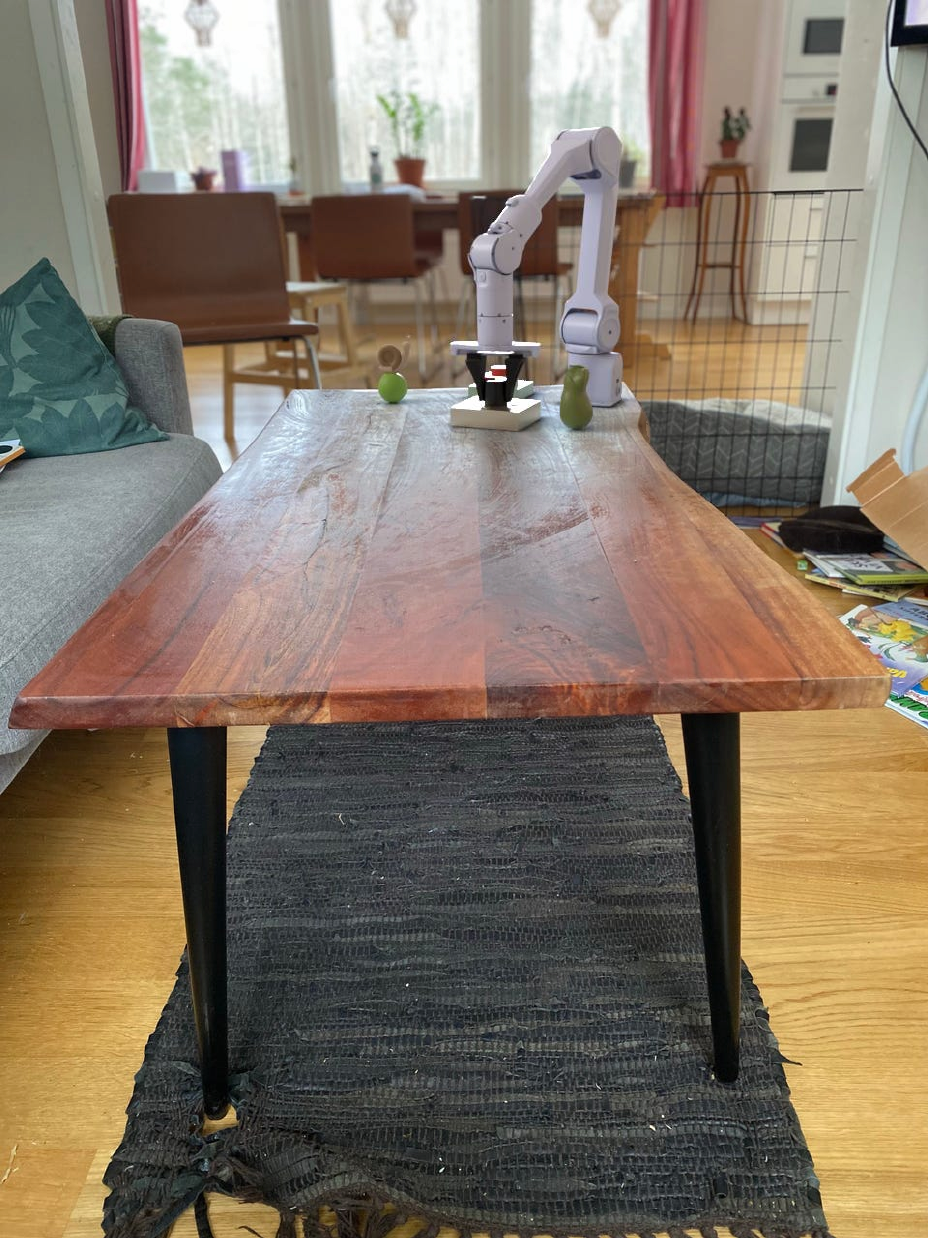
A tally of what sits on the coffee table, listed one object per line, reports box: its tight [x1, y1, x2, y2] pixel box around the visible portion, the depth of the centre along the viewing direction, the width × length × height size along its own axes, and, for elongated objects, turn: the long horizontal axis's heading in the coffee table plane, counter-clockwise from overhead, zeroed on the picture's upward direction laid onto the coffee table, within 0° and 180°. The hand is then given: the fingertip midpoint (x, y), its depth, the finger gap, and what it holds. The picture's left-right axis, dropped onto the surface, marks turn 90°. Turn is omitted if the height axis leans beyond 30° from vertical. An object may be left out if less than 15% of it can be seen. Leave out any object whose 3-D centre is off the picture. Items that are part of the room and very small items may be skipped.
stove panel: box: [449, 396, 541, 432], centre depth 155 cm, size 12×10×3 cm
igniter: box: [467, 371, 534, 399], centre depth 176 cm, size 10×8×4 cm
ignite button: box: [490, 364, 506, 376], centre depth 175 cm, size 4×4×2 cm
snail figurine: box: [377, 334, 411, 404], centre depth 170 cm, size 5×6×12 cm
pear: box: [559, 365, 594, 430], centre depth 148 cm, size 6×5×10 cm
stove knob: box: [483, 377, 508, 406], centre depth 154 cm, size 4×4×4 cm
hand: (495, 400), depth 155 cm, fingers closed on stove knob, 4 cm apart
